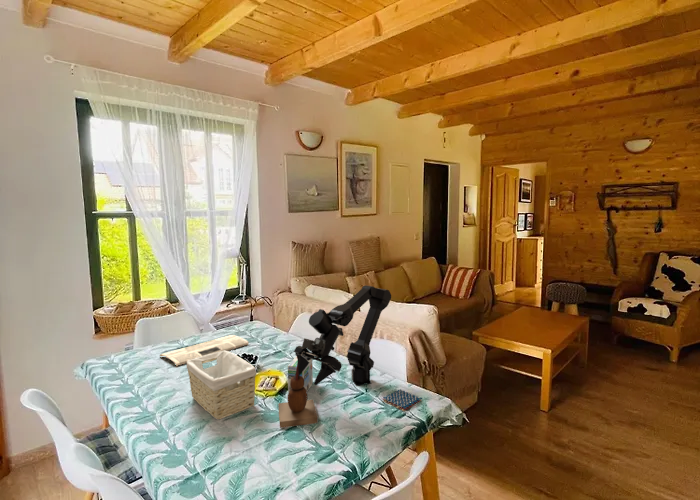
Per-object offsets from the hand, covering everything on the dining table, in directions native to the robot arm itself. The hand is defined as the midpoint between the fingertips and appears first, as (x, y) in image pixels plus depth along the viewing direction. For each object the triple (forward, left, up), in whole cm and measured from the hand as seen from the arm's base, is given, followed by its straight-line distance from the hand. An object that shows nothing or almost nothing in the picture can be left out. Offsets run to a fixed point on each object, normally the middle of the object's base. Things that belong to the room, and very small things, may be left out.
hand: (305, 380), depth 132 cm
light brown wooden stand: (+3, +2, -11) cm, 11 cm away
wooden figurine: (+3, +2, -9) cm, 10 cm away
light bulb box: (0, -18, -11) cm, 21 cm away
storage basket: (+29, -13, -11) cm, 33 cm away
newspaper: (+42, -70, -11) cm, 82 cm away
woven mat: (-34, +1, -11) cm, 36 cm away
